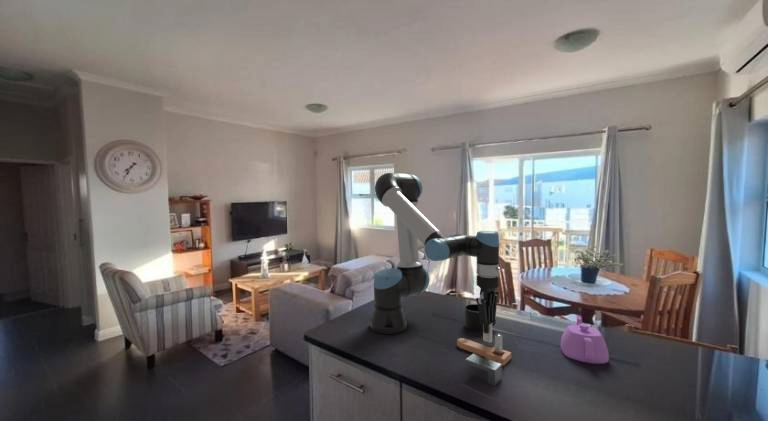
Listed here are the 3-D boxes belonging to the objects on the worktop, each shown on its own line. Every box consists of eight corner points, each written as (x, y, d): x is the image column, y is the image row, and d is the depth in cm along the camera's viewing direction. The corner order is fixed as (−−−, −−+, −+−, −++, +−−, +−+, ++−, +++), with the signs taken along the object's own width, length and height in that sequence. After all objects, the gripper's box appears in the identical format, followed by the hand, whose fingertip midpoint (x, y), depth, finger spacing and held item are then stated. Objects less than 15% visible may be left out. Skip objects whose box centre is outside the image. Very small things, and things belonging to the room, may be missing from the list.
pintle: (493, 359, 102) (493, 335, 102) (496, 356, 104) (496, 333, 103) (500, 362, 100) (500, 337, 100) (503, 359, 102) (503, 335, 102)
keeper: (465, 374, 94) (465, 359, 94) (472, 368, 97) (472, 353, 97) (494, 386, 88) (494, 370, 87) (501, 379, 91) (501, 364, 91)
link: (511, 358, 102) (511, 352, 102) (503, 365, 98) (503, 359, 98) (462, 341, 114) (462, 336, 114) (453, 347, 110) (453, 341, 110)
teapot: (599, 346, 112) (599, 316, 112) (616, 376, 94) (616, 340, 93) (556, 340, 117) (557, 311, 117) (564, 368, 99) (565, 333, 98)
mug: (493, 338, 120) (493, 314, 119) (462, 332, 125) (462, 309, 125) (497, 328, 128) (497, 307, 128) (467, 323, 134) (467, 302, 133)
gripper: (489, 280, 103) (489, 351, 104) (505, 273, 113) (505, 338, 114) (468, 277, 109) (469, 344, 110) (486, 270, 118) (486, 332, 119)
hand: (487, 340), depth 112 cm, fingers closed
